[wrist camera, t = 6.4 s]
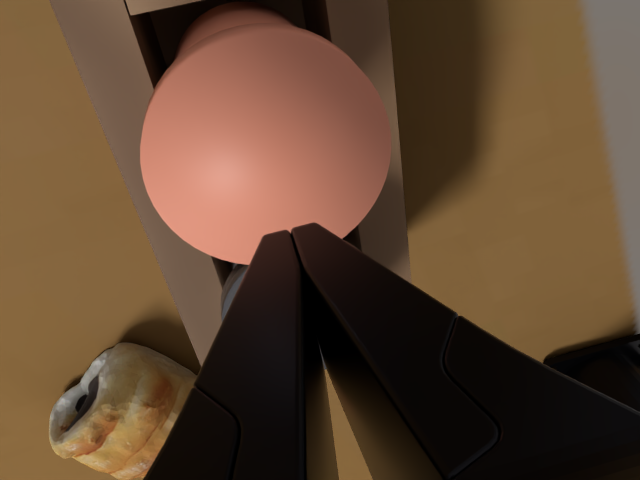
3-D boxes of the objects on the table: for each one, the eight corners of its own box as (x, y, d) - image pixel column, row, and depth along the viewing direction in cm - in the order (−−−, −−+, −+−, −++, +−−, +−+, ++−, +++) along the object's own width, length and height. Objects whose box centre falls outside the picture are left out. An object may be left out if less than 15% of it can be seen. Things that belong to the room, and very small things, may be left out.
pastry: (275, 396, 30) (285, 459, 26) (198, 467, 32) (199, 532, 28) (118, 323, 25) (107, 388, 22) (39, 411, 27) (19, 482, 24)
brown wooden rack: (310, -436, 13) (368, -581, 9) (387, 251, 25) (427, 327, 21) (-69, -377, 13) (-196, -503, 8) (194, 301, 25) (195, 389, 20)
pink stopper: (315, -37, 15) (379, 5, 10) (341, 136, 17) (400, 234, 13) (127, 2, 14) (97, 67, 9) (185, 173, 17) (185, 289, 12)
